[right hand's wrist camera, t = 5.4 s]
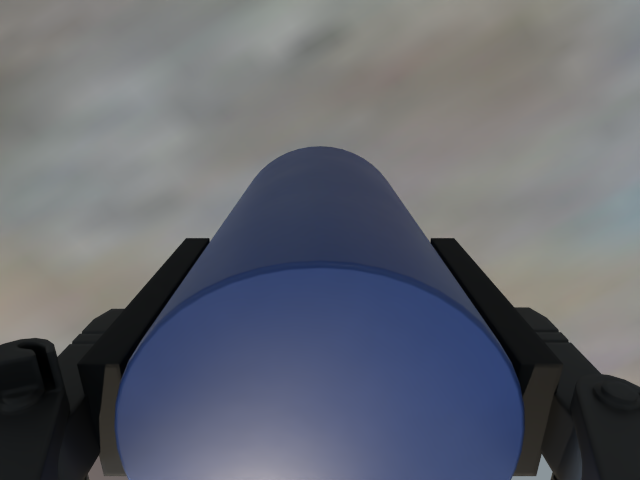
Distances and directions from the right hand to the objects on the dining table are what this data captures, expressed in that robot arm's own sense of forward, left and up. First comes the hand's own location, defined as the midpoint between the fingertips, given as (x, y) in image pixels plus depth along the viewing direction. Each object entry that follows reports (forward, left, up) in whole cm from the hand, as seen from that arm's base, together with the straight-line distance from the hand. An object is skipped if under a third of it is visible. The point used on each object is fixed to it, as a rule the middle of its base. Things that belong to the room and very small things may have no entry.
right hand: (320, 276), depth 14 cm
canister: (0, 0, -5) cm, 5 cm away
